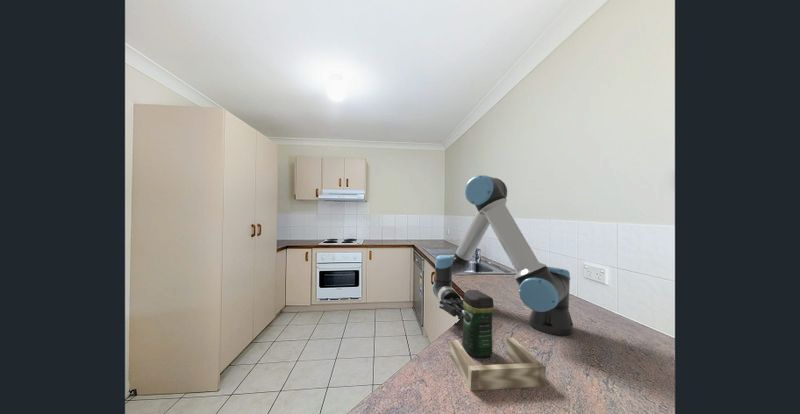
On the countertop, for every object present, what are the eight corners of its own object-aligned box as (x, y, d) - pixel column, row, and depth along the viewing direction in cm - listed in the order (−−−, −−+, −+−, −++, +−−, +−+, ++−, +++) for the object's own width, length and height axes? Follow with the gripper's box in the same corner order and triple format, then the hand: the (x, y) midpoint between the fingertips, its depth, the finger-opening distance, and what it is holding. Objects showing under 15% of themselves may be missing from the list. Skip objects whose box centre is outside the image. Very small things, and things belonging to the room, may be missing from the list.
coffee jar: (496, 357, 86) (498, 296, 86) (473, 360, 84) (475, 297, 84) (479, 342, 96) (481, 287, 96) (458, 344, 94) (460, 288, 94)
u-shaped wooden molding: (512, 353, 89) (512, 337, 89) (545, 386, 73) (545, 366, 73) (450, 356, 86) (450, 339, 86) (470, 390, 70) (471, 370, 70)
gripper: (464, 306, 119) (489, 332, 95) (433, 307, 117) (451, 333, 94) (464, 288, 119) (490, 309, 95) (434, 289, 117) (452, 310, 94)
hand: (470, 321), depth 94 cm, fingers closed
